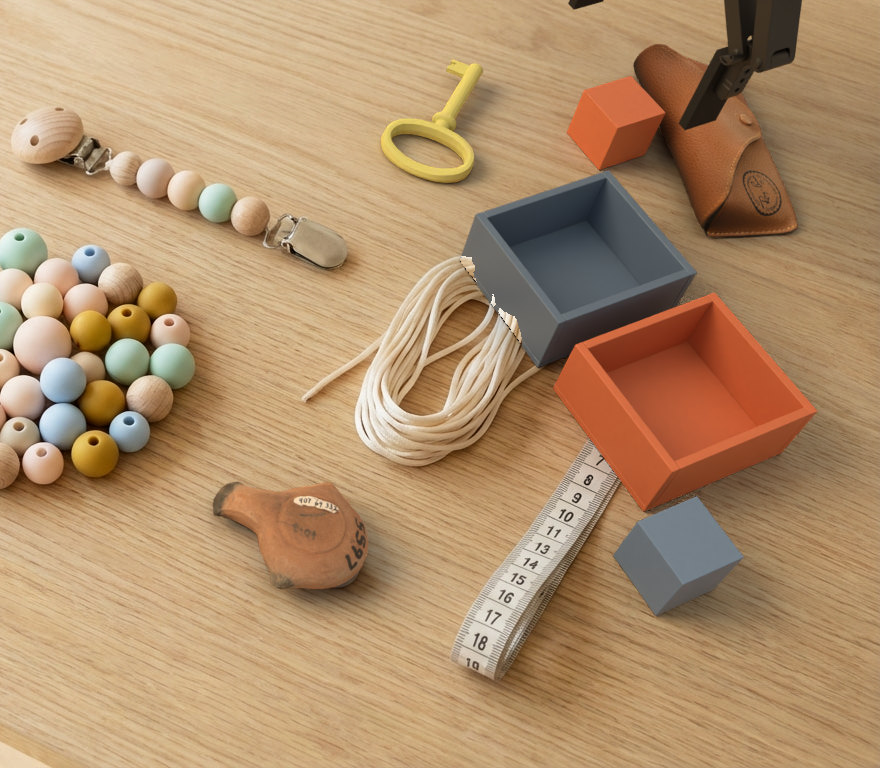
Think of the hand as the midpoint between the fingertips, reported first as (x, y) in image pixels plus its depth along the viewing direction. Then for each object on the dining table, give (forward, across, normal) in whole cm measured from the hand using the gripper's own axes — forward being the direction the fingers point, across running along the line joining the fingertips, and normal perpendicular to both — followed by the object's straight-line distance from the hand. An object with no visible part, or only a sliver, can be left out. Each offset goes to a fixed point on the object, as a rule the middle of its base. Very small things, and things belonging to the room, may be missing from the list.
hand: (639, 60), depth 88 cm
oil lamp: (+8, +21, -38) cm, 45 cm away
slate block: (+8, +32, -18) cm, 38 cm away
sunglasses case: (+8, +4, +8) cm, 12 cm away
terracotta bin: (+8, +23, -11) cm, 27 cm away
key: (+8, -6, -11) cm, 15 cm away
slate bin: (+8, +11, -11) cm, 18 cm away
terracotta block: (+8, 0, 0) cm, 8 cm away
